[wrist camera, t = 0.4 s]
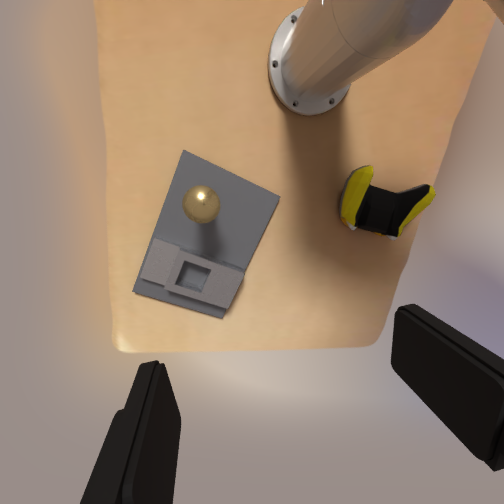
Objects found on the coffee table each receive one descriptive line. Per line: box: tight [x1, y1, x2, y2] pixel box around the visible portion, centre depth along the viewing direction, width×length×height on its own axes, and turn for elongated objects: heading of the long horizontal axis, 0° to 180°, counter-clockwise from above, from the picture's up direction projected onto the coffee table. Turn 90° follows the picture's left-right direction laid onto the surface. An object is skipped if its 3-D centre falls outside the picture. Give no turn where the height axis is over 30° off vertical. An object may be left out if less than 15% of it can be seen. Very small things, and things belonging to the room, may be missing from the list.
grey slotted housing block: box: [140, 236, 245, 309], centre depth 39 cm, size 7×15×2 cm, turn 65°
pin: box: [182, 185, 220, 223], centre depth 32 cm, size 4×4×9 cm
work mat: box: [132, 150, 280, 318], centre depth 39 cm, size 24×16×1 cm, turn 155°
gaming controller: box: [339, 165, 436, 240], centre depth 40 cm, size 15×6×10 cm
